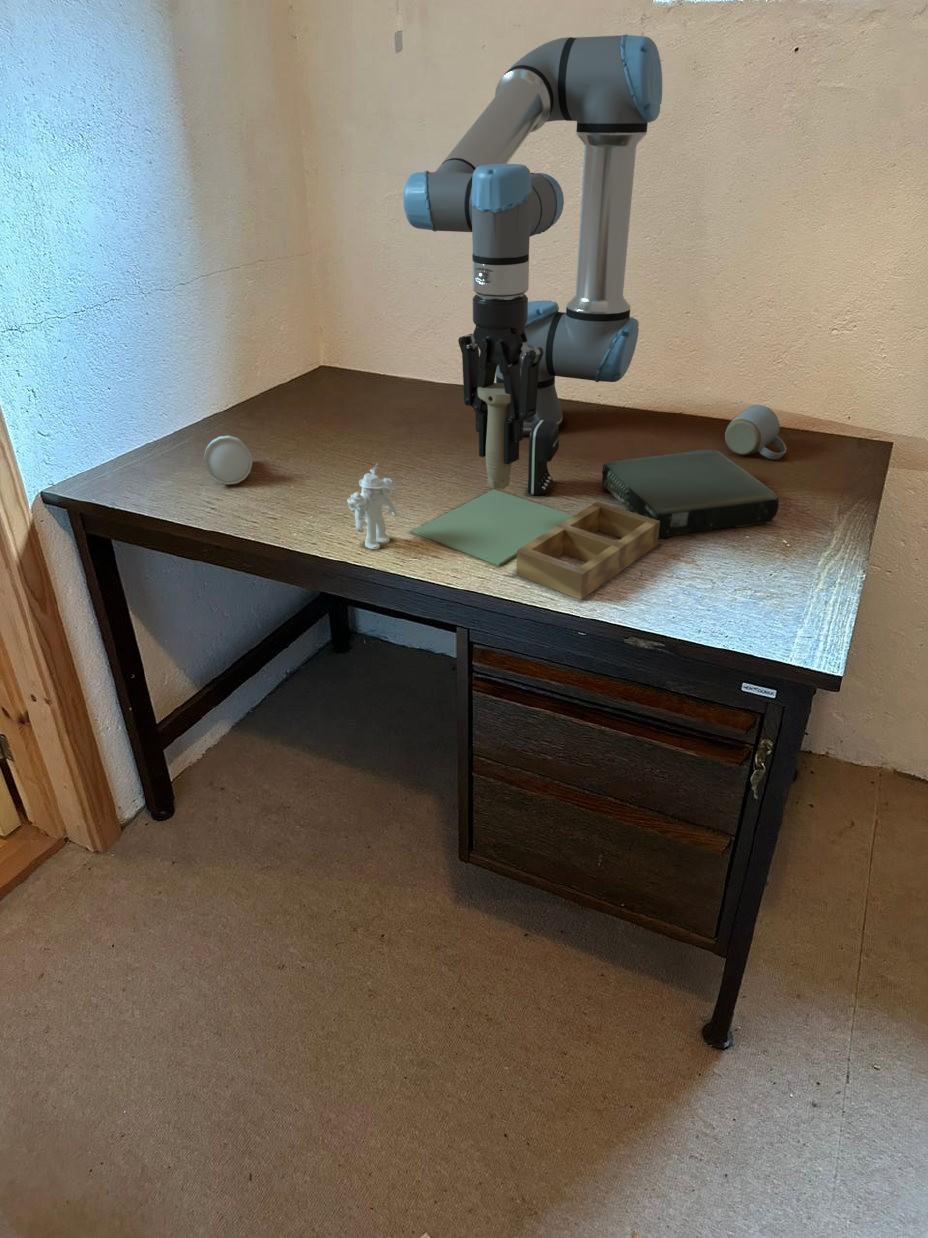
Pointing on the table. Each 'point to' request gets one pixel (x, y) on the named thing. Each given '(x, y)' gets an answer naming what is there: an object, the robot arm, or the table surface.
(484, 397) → the handle
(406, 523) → the table surface
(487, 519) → the mat
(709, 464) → the network switch
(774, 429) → the ceramic mug
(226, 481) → the spotlight
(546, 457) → the battery charger
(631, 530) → the rack
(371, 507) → the flower shoulder figurine
